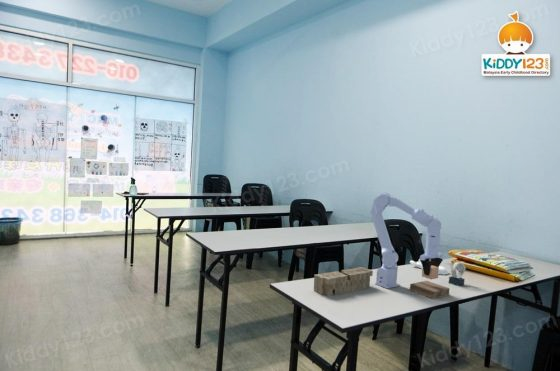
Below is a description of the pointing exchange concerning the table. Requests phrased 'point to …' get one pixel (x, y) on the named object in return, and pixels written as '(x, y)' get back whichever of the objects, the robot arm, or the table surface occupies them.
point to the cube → (431, 272)
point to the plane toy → (418, 264)
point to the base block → (429, 289)
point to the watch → (456, 278)
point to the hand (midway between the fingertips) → (430, 274)
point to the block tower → (342, 281)
